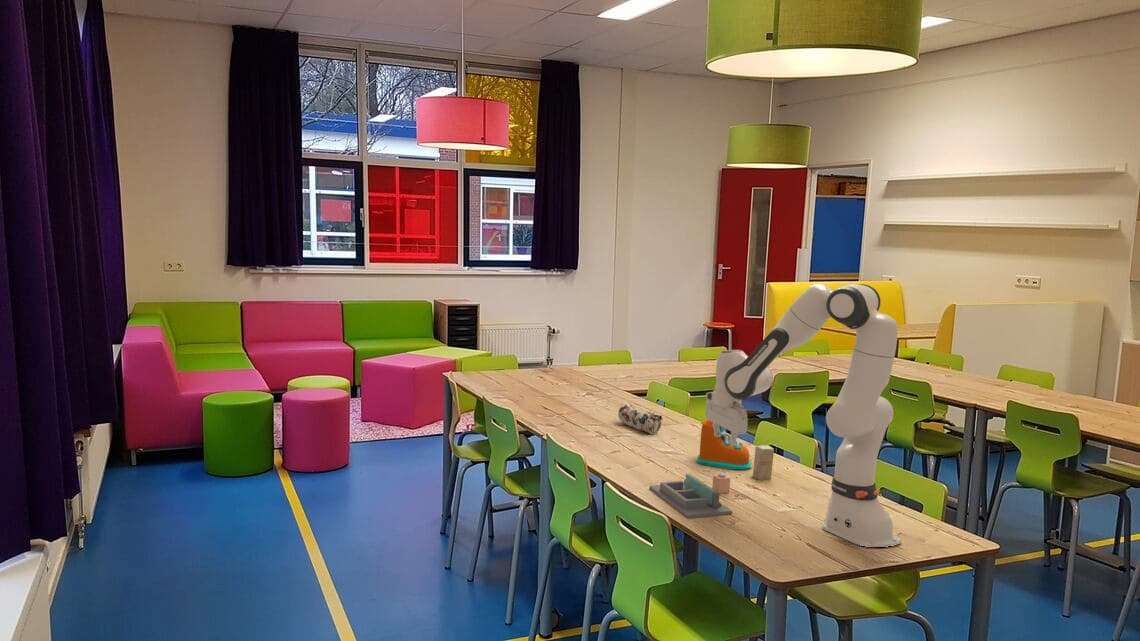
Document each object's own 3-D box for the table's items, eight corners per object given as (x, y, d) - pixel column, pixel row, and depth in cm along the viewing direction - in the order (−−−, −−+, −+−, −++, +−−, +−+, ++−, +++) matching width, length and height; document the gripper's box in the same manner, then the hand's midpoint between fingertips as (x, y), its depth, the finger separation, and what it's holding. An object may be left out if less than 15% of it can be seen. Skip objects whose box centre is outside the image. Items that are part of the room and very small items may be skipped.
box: (758, 480, 269) (760, 448, 268) (752, 475, 273) (754, 445, 272) (771, 479, 270) (774, 448, 269) (765, 475, 275) (768, 444, 273)
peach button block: (729, 492, 255) (730, 475, 254) (718, 493, 253) (719, 476, 253) (722, 488, 258) (724, 471, 258) (712, 489, 257) (713, 472, 256)
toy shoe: (749, 472, 277) (752, 431, 275) (694, 464, 283) (697, 424, 281) (753, 463, 288) (756, 423, 286) (700, 455, 295) (703, 417, 293)
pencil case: (663, 434, 323) (664, 411, 321) (647, 436, 318) (648, 413, 317) (630, 421, 341) (631, 399, 339) (614, 423, 336) (616, 401, 335)
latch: (714, 505, 238) (716, 491, 238) (711, 505, 238) (712, 491, 237) (688, 486, 254) (689, 473, 254) (684, 486, 254) (685, 473, 253)
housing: (731, 514, 236) (733, 495, 235) (687, 518, 230) (689, 499, 230) (690, 485, 260) (691, 468, 259) (649, 488, 255) (650, 471, 254)
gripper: (754, 406, 243) (750, 449, 245) (719, 391, 262) (716, 431, 264) (736, 406, 241) (733, 450, 243) (703, 392, 260) (700, 432, 262)
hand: (724, 440), depth 254 cm, fingers open, 8 cm apart
